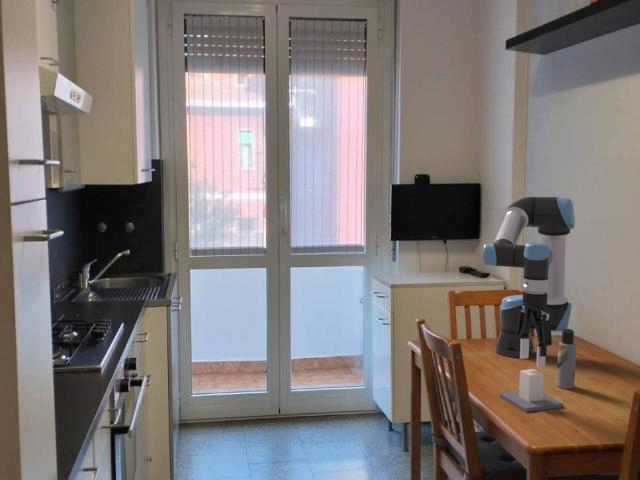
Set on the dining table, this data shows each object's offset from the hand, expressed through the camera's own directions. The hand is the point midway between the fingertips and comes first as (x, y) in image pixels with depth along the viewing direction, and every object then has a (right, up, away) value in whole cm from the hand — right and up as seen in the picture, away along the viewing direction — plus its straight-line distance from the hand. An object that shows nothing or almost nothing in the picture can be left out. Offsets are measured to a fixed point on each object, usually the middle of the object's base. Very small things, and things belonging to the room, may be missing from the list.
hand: (532, 361), depth 208 cm
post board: (0, -13, +1) cm, 13 cm away
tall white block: (0, -12, +1) cm, 12 cm away
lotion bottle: (+17, -12, +16) cm, 26 cm away
